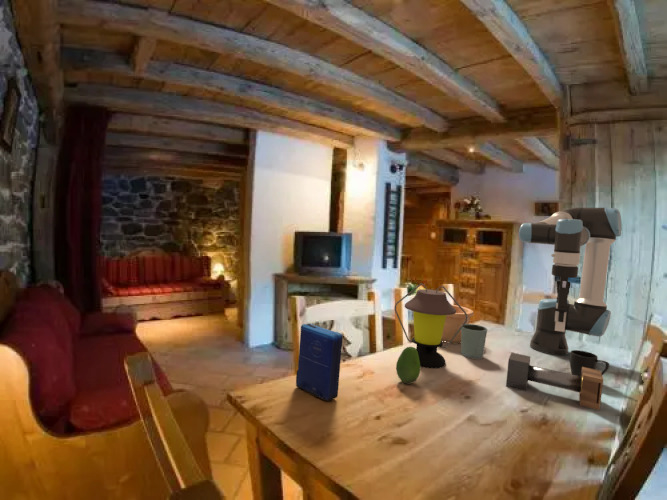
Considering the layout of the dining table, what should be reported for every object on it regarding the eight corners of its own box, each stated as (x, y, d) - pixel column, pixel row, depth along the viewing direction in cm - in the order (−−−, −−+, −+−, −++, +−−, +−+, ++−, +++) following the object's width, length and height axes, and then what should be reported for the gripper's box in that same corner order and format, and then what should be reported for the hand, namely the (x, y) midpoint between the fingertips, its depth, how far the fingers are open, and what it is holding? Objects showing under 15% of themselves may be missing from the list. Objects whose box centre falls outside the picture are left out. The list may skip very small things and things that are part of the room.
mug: (600, 390, 131) (603, 362, 130) (563, 377, 141) (566, 351, 140) (610, 385, 135) (614, 359, 134) (574, 373, 145) (577, 348, 144)
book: (292, 388, 117) (296, 323, 115) (305, 383, 121) (309, 321, 119) (327, 405, 107) (332, 335, 106) (340, 399, 111) (344, 331, 110)
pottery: (472, 336, 187) (475, 307, 186) (467, 349, 167) (470, 316, 166) (427, 328, 196) (430, 301, 195) (418, 339, 176) (421, 309, 175)
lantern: (468, 367, 144) (475, 288, 142) (439, 377, 132) (446, 292, 130) (415, 348, 163) (421, 278, 161) (385, 355, 151) (391, 280, 149)
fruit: (423, 383, 127) (426, 347, 126) (411, 389, 121) (414, 352, 120) (403, 375, 132) (406, 341, 131) (390, 381, 126) (393, 345, 125)
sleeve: (508, 378, 136) (511, 352, 135) (527, 382, 133) (530, 356, 132) (505, 386, 128) (508, 359, 128) (525, 391, 125) (528, 363, 125)
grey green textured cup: (486, 355, 160) (489, 327, 159) (481, 361, 151) (484, 332, 150) (462, 349, 165) (464, 322, 164) (455, 355, 157) (458, 327, 156)
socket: (578, 394, 125) (582, 366, 125) (597, 399, 123) (600, 370, 122) (579, 405, 117) (583, 375, 117) (599, 410, 115) (603, 379, 114)
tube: (516, 379, 128) (518, 365, 128) (518, 375, 132) (519, 360, 132) (588, 397, 118) (589, 381, 118) (587, 391, 122) (588, 375, 122)
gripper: (552, 260, 142) (547, 316, 144) (552, 267, 120) (546, 333, 122) (576, 262, 138) (570, 320, 140) (580, 269, 116) (573, 337, 118)
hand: (559, 326), depth 131 cm, fingers open, 13 cm apart
